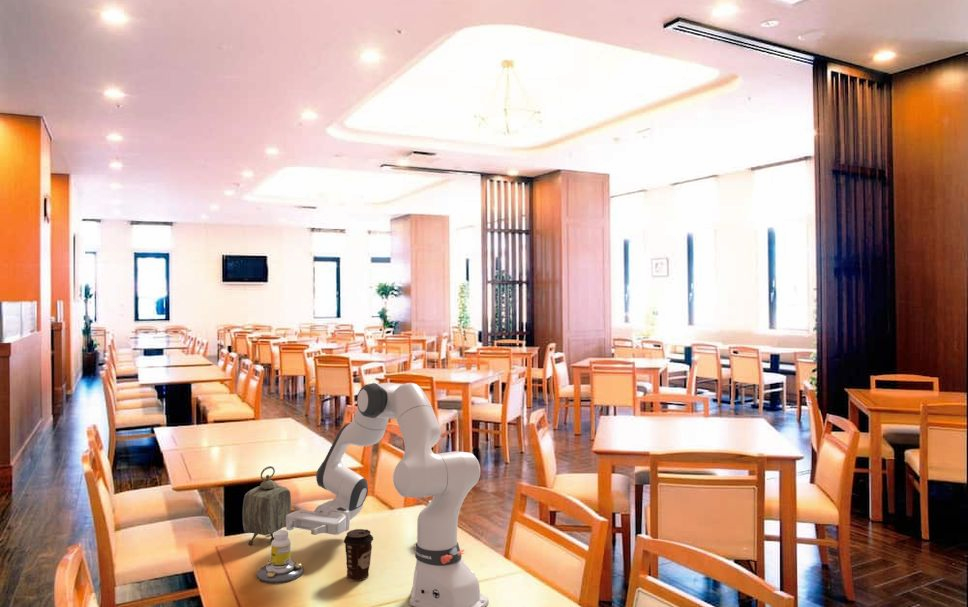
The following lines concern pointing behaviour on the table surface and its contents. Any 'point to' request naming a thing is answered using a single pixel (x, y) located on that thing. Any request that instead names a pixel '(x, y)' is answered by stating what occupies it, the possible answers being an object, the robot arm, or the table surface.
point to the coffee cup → (358, 553)
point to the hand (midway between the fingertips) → (300, 529)
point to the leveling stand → (280, 573)
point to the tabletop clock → (266, 508)
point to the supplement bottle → (280, 550)
